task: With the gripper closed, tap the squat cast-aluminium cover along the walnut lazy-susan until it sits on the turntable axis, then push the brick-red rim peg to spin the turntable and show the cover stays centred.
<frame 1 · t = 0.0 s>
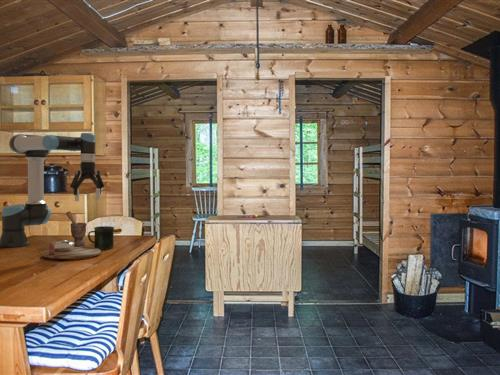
hand: (87, 200, 244), 28 cm above the table, fingers open, 13 cm apart
mug: (101, 248, 256), on the table
cover: (64, 250, 237), point 2 cm above the table, touching turntable
turntable: (72, 246, 233), point 4 cm above the table, hinge at 0.0°, touching cover
mortar and pestle: (75, 245, 264), on the table
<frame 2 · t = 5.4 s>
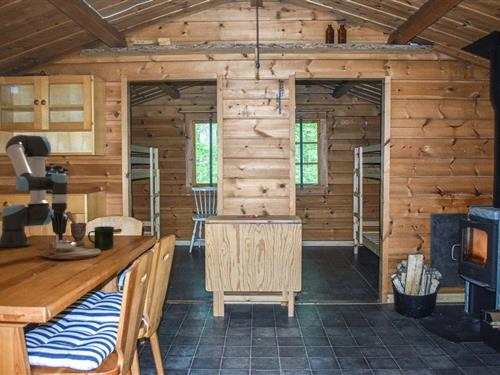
hand: (59, 246, 239), 4 cm above the table, fingers closed
cover: (66, 250, 237), point 2 cm above the table
turntable: (72, 246, 233), point 4 cm above the table, hinge at 0.0°
everything else where it was.
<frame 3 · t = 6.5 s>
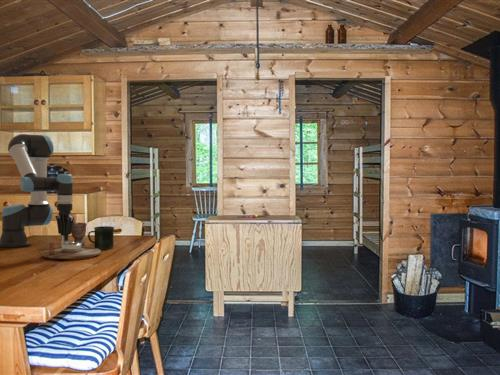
hand: (64, 247, 237), 3 cm above the table, fingers closed
cover: (71, 251, 234), point 2 cm above the table, touching gripper, turntable
turntable: (72, 246, 233), point 4 cm above the table, hinge at 0.0°, touching cover
everything else where it was.
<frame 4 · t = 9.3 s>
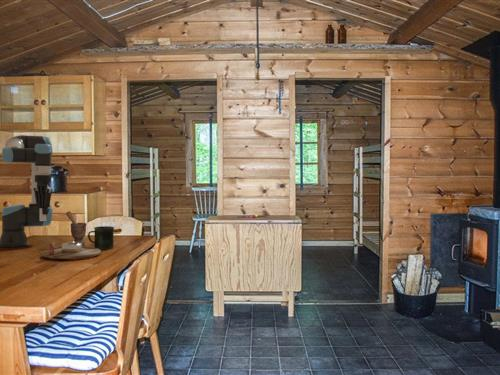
hand: (42, 220, 227), 19 cm above the table, fingers closed
cover: (71, 251, 234), point 2 cm above the table, touching turntable
everything else where it was.
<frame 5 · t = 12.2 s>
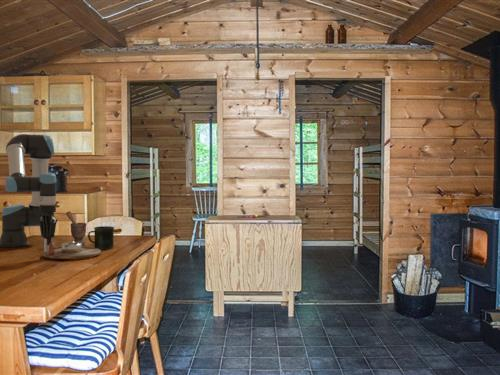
hand: (47, 251, 225), 4 cm above the table, fingers closed
turntable: (72, 246, 233), point 4 cm above the table, hinge at 0.4°, touching cover, gripper
everything else where it was.
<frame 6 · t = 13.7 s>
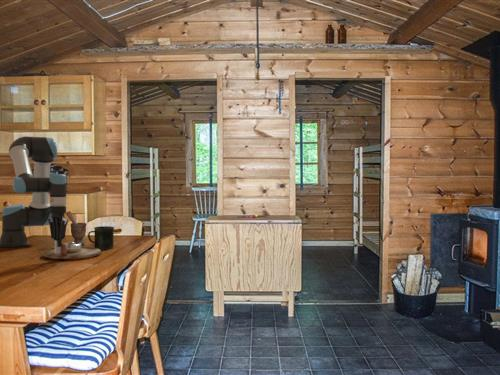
hand: (57, 253, 221), 4 cm above the table, fingers closed
turntable: (72, 246, 233), point 4 cm above the table, hinge at 34.7°, touching cover, gripper
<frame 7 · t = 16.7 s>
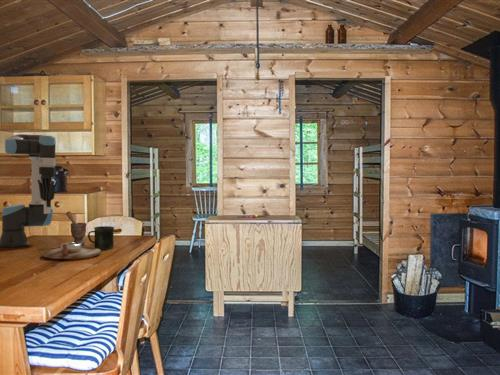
hand: (47, 213, 225), 23 cm above the table, fingers closed
turntable: (72, 246, 233), point 4 cm above the table, hinge at 37.4°, touching cover
everything else where it was.
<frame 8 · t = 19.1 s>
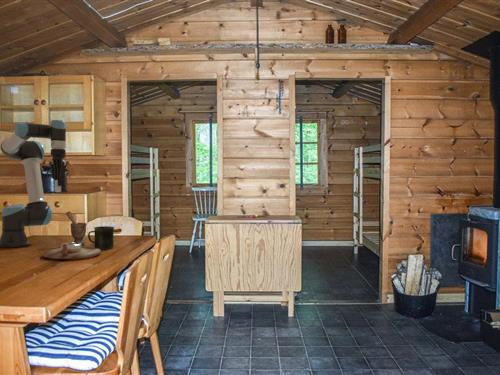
hand: (58, 192, 244), 32 cm above the table, fingers closed
nothing on the table moved.
at the end: cover 0.8 cm from the turntable (horizontally); turntable at +37° (first picture: +0°); cover tilted 0° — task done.
